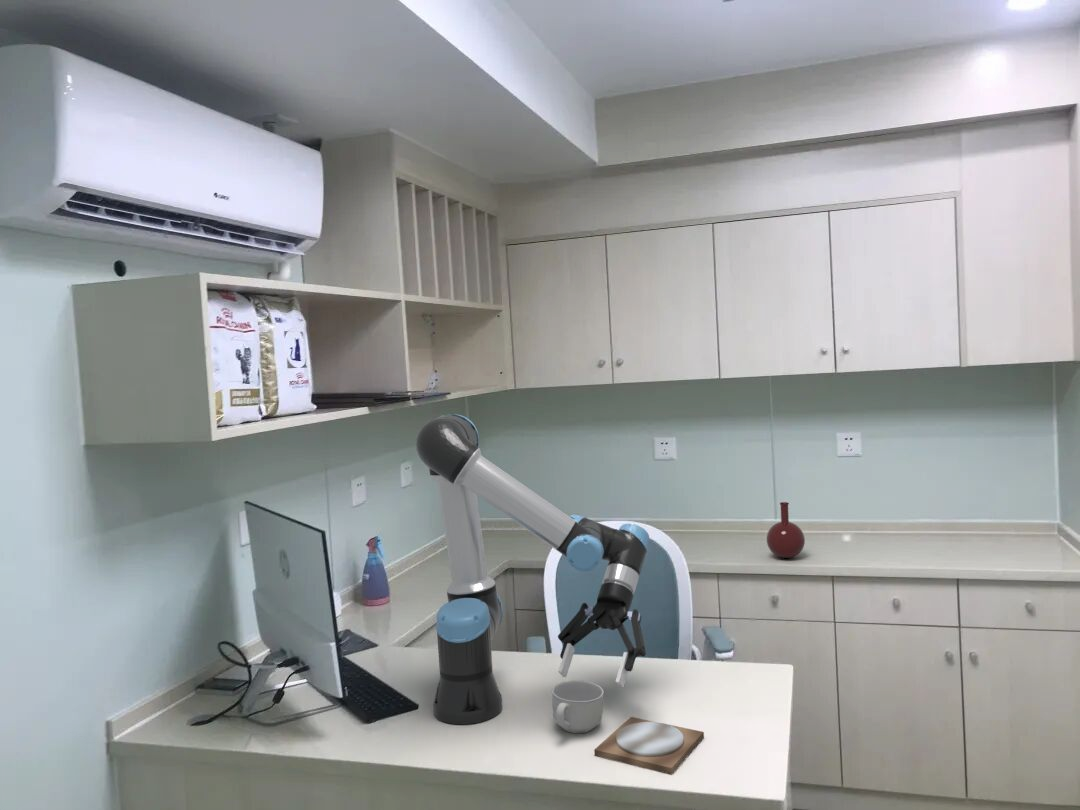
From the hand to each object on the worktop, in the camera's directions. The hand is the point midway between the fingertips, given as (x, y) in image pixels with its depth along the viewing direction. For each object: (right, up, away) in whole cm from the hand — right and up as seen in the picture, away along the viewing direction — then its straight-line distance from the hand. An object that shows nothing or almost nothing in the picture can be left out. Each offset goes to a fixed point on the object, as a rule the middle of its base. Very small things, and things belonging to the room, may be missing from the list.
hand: (590, 679), depth 174 cm
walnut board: (+11, -9, -12) cm, 19 cm away
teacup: (-3, -10, -3) cm, 10 cm away
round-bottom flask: (+78, +2, +124) cm, 147 cm away
